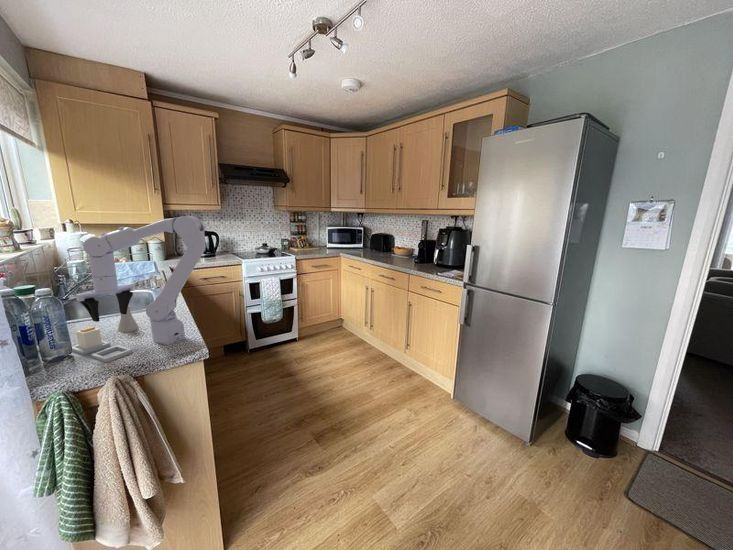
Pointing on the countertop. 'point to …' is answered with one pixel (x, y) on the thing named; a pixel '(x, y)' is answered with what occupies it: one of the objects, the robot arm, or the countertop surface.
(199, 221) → the robot arm
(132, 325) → the flask
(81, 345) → the plug
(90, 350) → the panel
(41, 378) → the countertop surface
